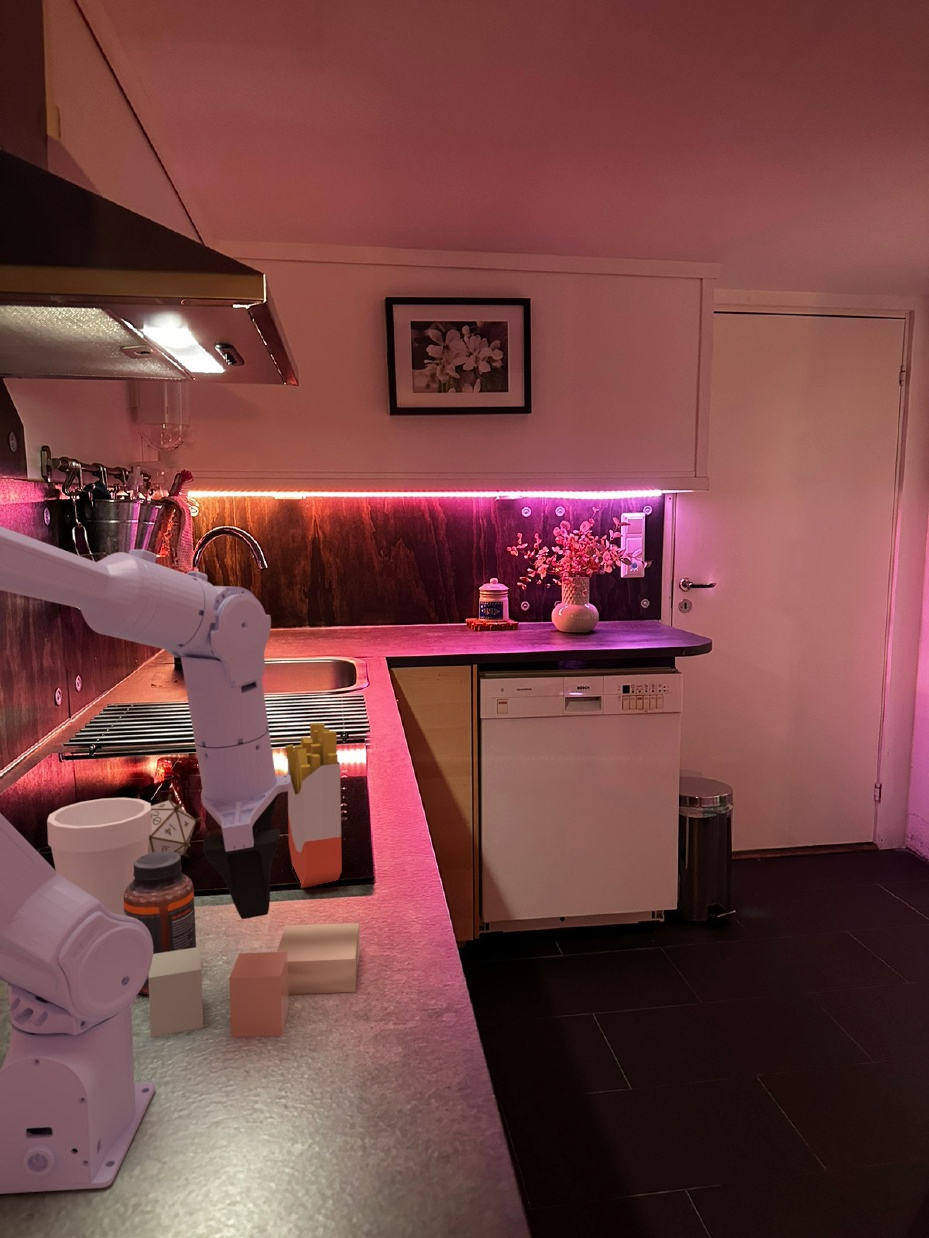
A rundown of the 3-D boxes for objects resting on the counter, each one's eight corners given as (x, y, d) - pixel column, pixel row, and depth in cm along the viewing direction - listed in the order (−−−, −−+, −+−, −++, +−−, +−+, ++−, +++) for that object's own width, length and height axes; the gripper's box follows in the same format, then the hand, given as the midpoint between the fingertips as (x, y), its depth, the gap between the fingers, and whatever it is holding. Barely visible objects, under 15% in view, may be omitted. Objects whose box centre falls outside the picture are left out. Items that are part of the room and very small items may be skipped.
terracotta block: (281, 1035, 66) (280, 975, 65) (231, 1038, 66) (229, 977, 65) (288, 1008, 70) (287, 951, 69) (240, 1010, 70) (239, 953, 69)
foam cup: (165, 915, 88) (160, 795, 86) (144, 957, 78) (139, 824, 77) (70, 921, 86) (64, 800, 85) (38, 965, 77) (32, 830, 76)
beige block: (203, 1028, 67) (201, 969, 66) (150, 1037, 66) (148, 977, 65) (201, 1002, 71) (200, 946, 70) (152, 1011, 69) (150, 954, 69)
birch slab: (355, 991, 72) (354, 958, 72) (274, 995, 72) (273, 962, 71) (359, 952, 79) (359, 922, 79) (286, 955, 79) (285, 925, 78)
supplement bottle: (205, 962, 77) (201, 845, 76) (186, 997, 71) (181, 870, 70) (141, 964, 77) (136, 846, 76) (116, 998, 71) (111, 872, 70)
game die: (180, 892, 102) (213, 838, 99) (110, 882, 98) (141, 825, 94) (181, 837, 109) (211, 785, 106) (115, 825, 105) (145, 770, 101)
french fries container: (302, 898, 92) (299, 739, 90) (286, 863, 102) (282, 720, 100) (342, 891, 93) (340, 735, 92) (322, 858, 103) (320, 717, 102)
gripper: (284, 759, 59) (308, 928, 62) (282, 701, 73) (302, 841, 76) (182, 775, 58) (211, 947, 60) (200, 713, 71) (223, 855, 74)
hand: (256, 889), depth 68 cm, fingers open, 7 cm apart
